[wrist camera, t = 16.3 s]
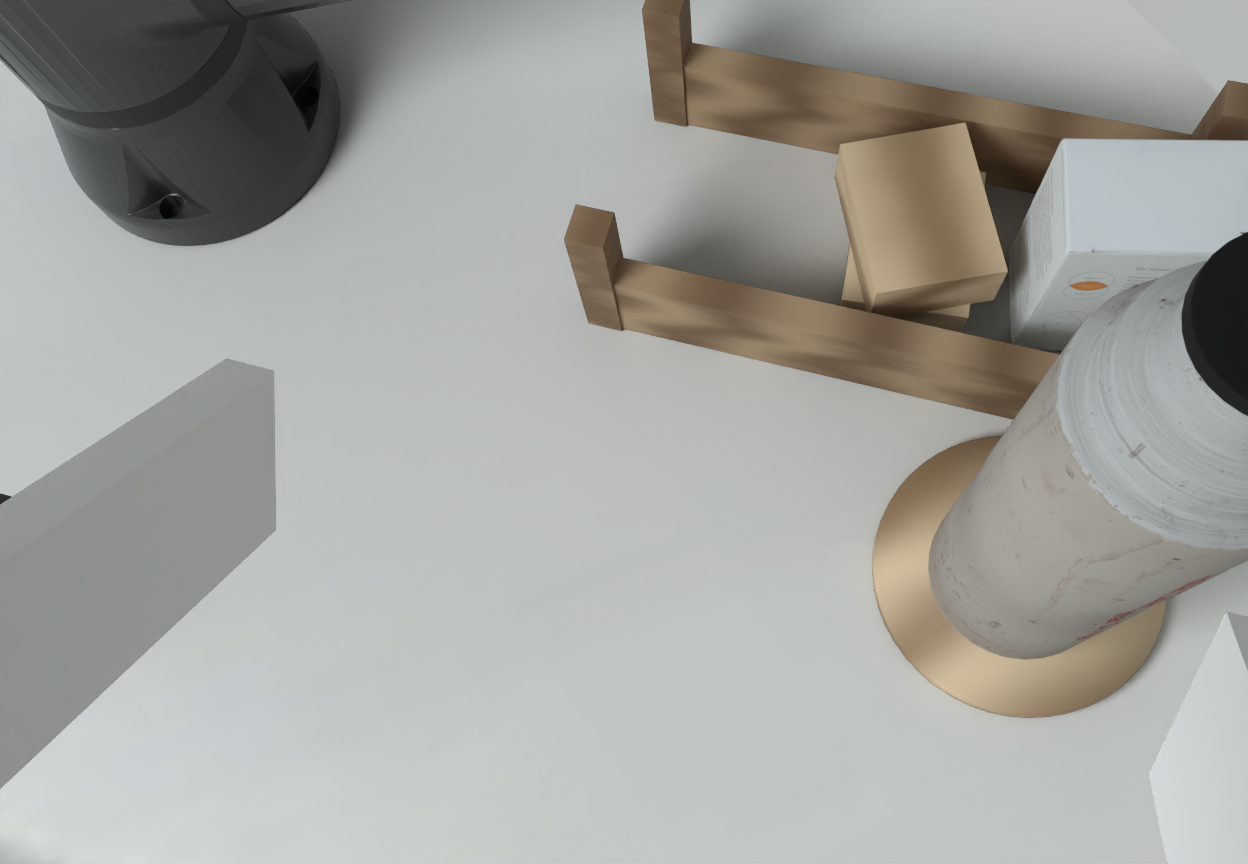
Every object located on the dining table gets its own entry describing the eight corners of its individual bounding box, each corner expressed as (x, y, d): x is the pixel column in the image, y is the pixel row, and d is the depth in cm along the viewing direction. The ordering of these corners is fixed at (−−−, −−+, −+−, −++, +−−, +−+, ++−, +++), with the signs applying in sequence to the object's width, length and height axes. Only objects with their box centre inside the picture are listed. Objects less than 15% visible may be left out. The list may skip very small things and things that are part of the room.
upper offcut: (868, 321, 54) (876, 293, 51) (834, 177, 57) (840, 144, 54) (993, 300, 54) (1008, 271, 51) (953, 157, 56) (965, 122, 54)
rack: (588, 323, 58) (563, 239, 50) (663, 92, 62) (652, -21, 54) (1150, 454, 53) (1229, 386, 45) (1192, 195, 57) (1271, 87, 49)
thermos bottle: (1145, 597, 51) (1591, 361, 24) (1000, 695, 50) (1300, 560, 24) (1031, 456, 53) (1323, 104, 27) (892, 547, 52) (1052, 276, 26)
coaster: (814, 572, 53) (815, 569, 52) (998, 387, 55) (1001, 383, 55) (1033, 781, 49) (1037, 780, 49) (1223, 574, 51) (1228, 571, 51)
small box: (1169, 255, 57) (1262, 136, 47) (1177, 358, 55) (1275, 258, 45) (1004, 250, 57) (1061, 132, 48) (1007, 351, 56) (1066, 251, 46)
